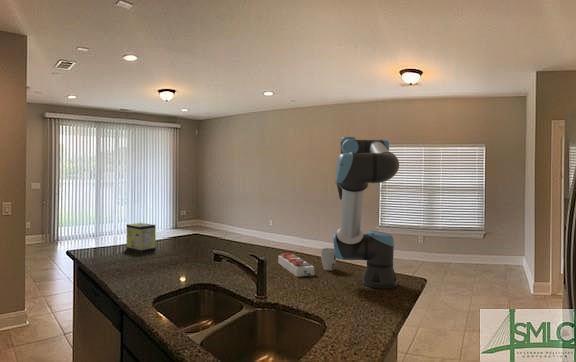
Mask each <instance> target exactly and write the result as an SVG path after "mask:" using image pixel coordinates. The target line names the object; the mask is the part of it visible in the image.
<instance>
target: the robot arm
mask: <svg viewBox="0 0 576 362" xmlns="http://www.w3.org/2000/svg"><path fill="white" fill-rule="evenodd" d="M399 169H400V161H399V159H398V157H397V155H395V154H394V153H393V152H390V143H389V140H387V139H356V138H355V136H342V137H341V138H340V154H339V156H338V158H337V162H336V171H335V184H336V187H337V191H338V196H339V200H341V208H340V209H341V211H340V227H339V228H338V229H337V232H336V233H333V235H332V237H333V238H332V241H333V249H334V252H335V257H336V260H342V261H366V267H365V269H364V272H363V276H362V279H361V280H362V282H361V283H362V285H364V286H366V287H369V288H374V289H384V290H385V289H393V288H396V287H397V286H398V279H397V276H396V272H395V269H394V251H395V249H394V248H395V244H394V243H395V241H394V239H395V238H394V237H393V235H391V234H390V233H387V232H382V231H380V230H379V231H378V230H368V231H367V232H366V233H364V232H363V230H362V229H361V228H362V226H361V225H362V224H361V223H362V214H363V205H364V204H363V202H364V191H366V190H367V188H368V187H369V184H381V183H384V182H387V181H389V180H391V179H392V178H394V177H395V176H396V174H397V173H398V172H399Z"/></svg>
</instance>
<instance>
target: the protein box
mask: <svg viewBox="0 0 576 362" xmlns="http://www.w3.org/2000/svg"><path fill="white" fill-rule="evenodd" d="M156 240H157V239H156V224H151V223H144V222H138V223H137V222H136V223H128V224H126V250H128V251H133V252H135V253H145V252H151V251H155V250H156V248H157V247H156V246H157V245H156V243H157V242H156Z"/></svg>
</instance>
